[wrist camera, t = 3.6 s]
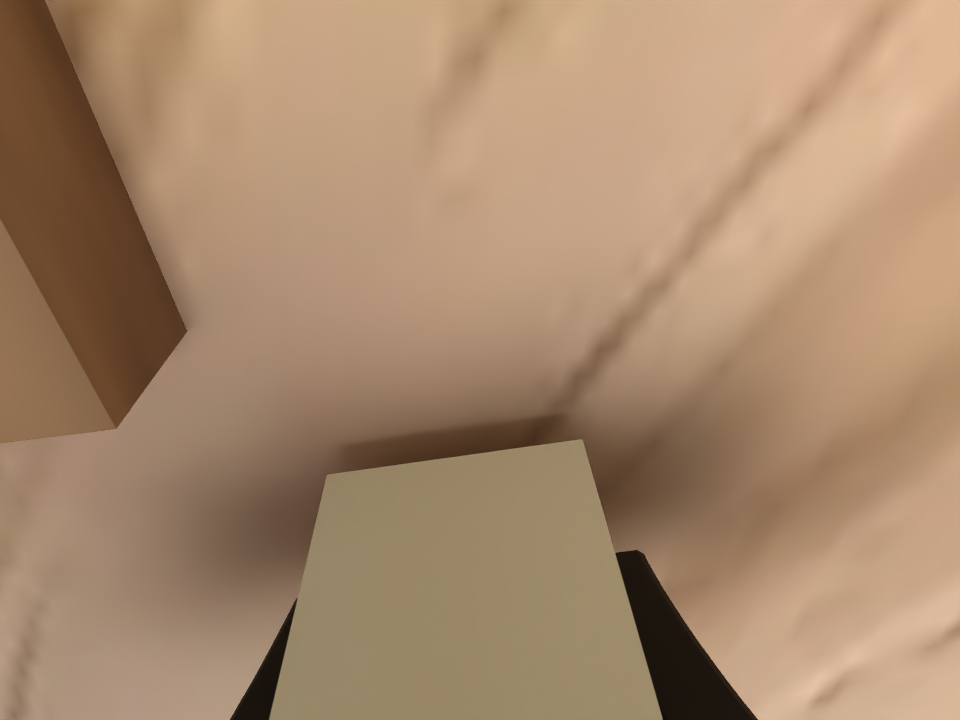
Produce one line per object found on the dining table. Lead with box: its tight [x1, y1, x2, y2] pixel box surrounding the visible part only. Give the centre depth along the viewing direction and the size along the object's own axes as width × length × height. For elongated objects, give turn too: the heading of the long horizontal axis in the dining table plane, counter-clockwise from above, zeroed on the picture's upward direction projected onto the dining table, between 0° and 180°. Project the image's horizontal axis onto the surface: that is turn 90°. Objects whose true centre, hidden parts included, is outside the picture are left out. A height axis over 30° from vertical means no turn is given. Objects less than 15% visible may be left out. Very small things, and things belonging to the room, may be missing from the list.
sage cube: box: [269, 439, 663, 720], centre depth 10 cm, size 4×4×5 cm
